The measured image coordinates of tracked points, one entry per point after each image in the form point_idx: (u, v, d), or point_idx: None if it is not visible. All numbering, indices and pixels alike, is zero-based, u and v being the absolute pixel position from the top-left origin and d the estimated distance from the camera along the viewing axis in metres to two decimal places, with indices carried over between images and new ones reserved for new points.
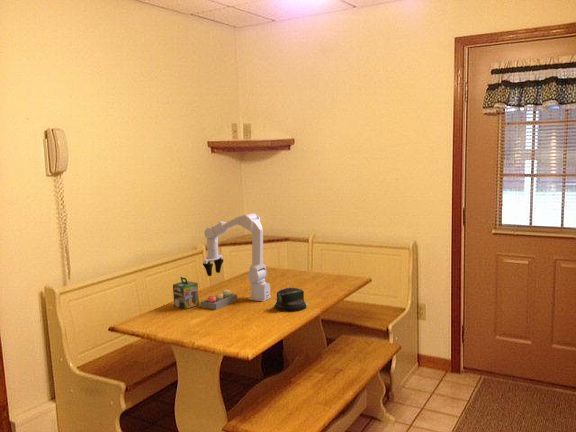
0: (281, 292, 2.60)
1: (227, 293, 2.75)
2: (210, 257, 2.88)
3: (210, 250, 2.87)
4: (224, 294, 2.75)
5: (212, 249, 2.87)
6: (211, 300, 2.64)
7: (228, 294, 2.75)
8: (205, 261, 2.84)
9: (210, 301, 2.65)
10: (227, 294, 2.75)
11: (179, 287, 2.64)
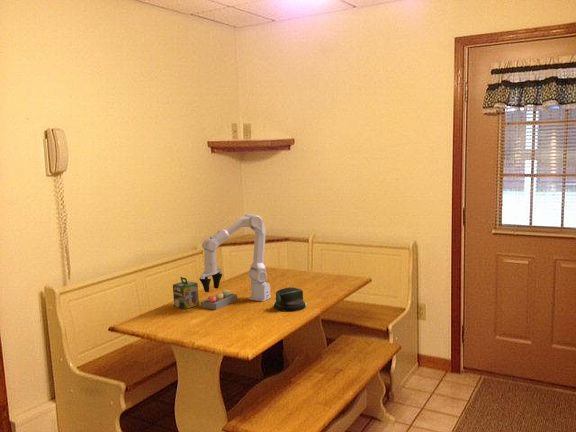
0: (280, 292, 2.61)
1: (227, 293, 2.75)
2: (208, 272, 2.62)
3: (208, 264, 2.62)
4: (224, 294, 2.75)
5: (215, 262, 2.63)
6: (211, 300, 2.64)
7: (228, 294, 2.75)
8: (202, 276, 2.59)
9: (210, 301, 2.65)
10: (227, 294, 2.75)
11: (179, 287, 2.64)
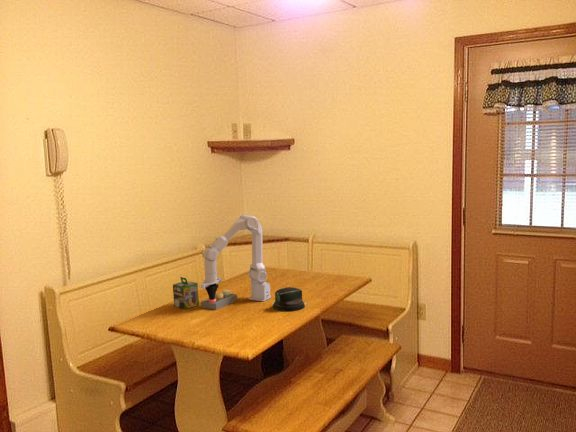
0: (279, 291, 2.61)
1: (227, 293, 2.75)
2: (208, 281, 2.62)
3: (208, 273, 2.62)
4: (224, 294, 2.75)
5: (215, 271, 2.63)
6: (211, 302, 2.65)
7: (228, 294, 2.75)
8: (202, 286, 2.59)
9: None
10: (227, 294, 2.75)
11: (179, 287, 2.64)
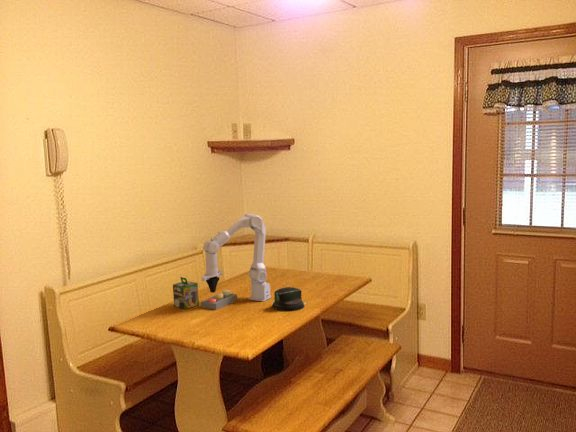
0: (279, 291, 2.61)
1: (227, 293, 2.75)
2: (209, 274, 2.63)
3: (209, 266, 2.62)
4: (224, 294, 2.75)
5: (216, 264, 2.63)
6: None
7: (228, 294, 2.75)
8: (203, 278, 2.59)
9: None
10: (227, 294, 2.75)
11: (179, 287, 2.64)
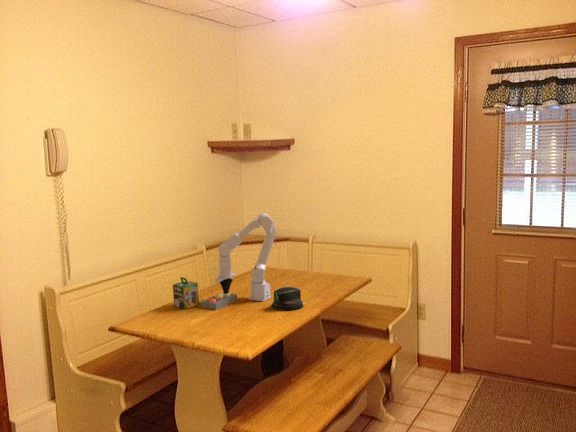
0: (278, 291, 2.62)
1: (227, 295, 2.75)
2: (222, 276, 2.73)
3: (222, 268, 2.72)
4: None
5: (228, 267, 2.73)
6: None
7: None
8: (217, 280, 2.69)
9: None
10: (227, 296, 2.75)
11: (179, 287, 2.64)
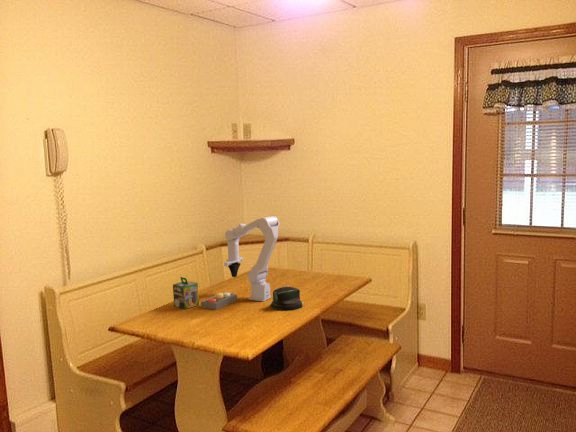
0: (277, 291, 2.62)
1: (227, 295, 2.75)
2: (231, 259, 2.84)
3: (231, 252, 2.83)
4: None
5: (232, 251, 2.83)
6: None
7: None
8: (226, 264, 2.80)
9: None
10: None
11: (179, 287, 2.64)
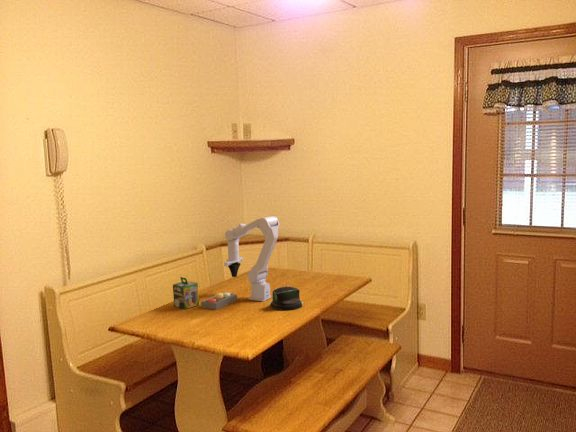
0: (277, 291, 2.62)
1: (227, 295, 2.75)
2: (231, 259, 2.84)
3: (231, 252, 2.83)
4: None
5: (232, 251, 2.83)
6: None
7: None
8: (226, 264, 2.80)
9: None
10: None
11: (179, 287, 2.64)
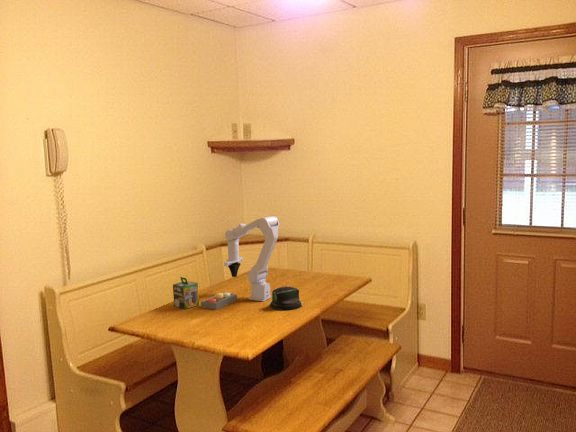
0: (276, 291, 2.63)
1: (227, 295, 2.75)
2: (231, 259, 2.84)
3: (231, 252, 2.83)
4: None
5: (232, 251, 2.83)
6: None
7: None
8: (226, 264, 2.80)
9: None
10: None
11: (179, 287, 2.64)
